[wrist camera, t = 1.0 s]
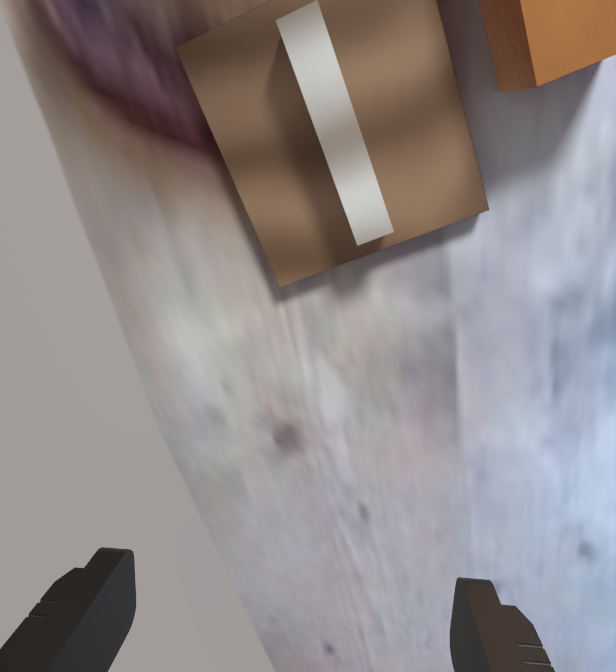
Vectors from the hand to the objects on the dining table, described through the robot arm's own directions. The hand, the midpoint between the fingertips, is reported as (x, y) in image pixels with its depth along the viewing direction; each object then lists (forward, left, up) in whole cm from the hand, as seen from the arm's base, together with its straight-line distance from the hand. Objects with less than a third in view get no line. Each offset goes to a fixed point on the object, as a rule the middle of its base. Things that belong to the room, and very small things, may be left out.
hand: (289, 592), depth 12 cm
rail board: (-9, +5, -24) cm, 26 cm away
